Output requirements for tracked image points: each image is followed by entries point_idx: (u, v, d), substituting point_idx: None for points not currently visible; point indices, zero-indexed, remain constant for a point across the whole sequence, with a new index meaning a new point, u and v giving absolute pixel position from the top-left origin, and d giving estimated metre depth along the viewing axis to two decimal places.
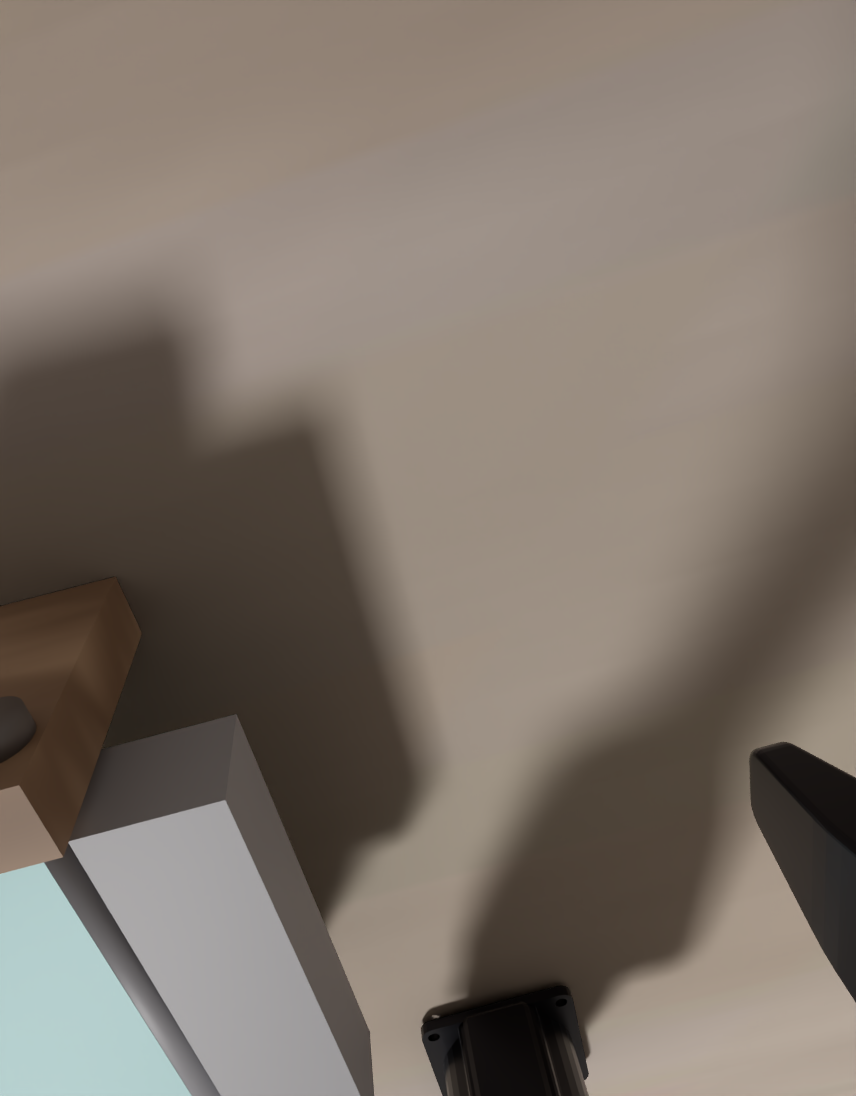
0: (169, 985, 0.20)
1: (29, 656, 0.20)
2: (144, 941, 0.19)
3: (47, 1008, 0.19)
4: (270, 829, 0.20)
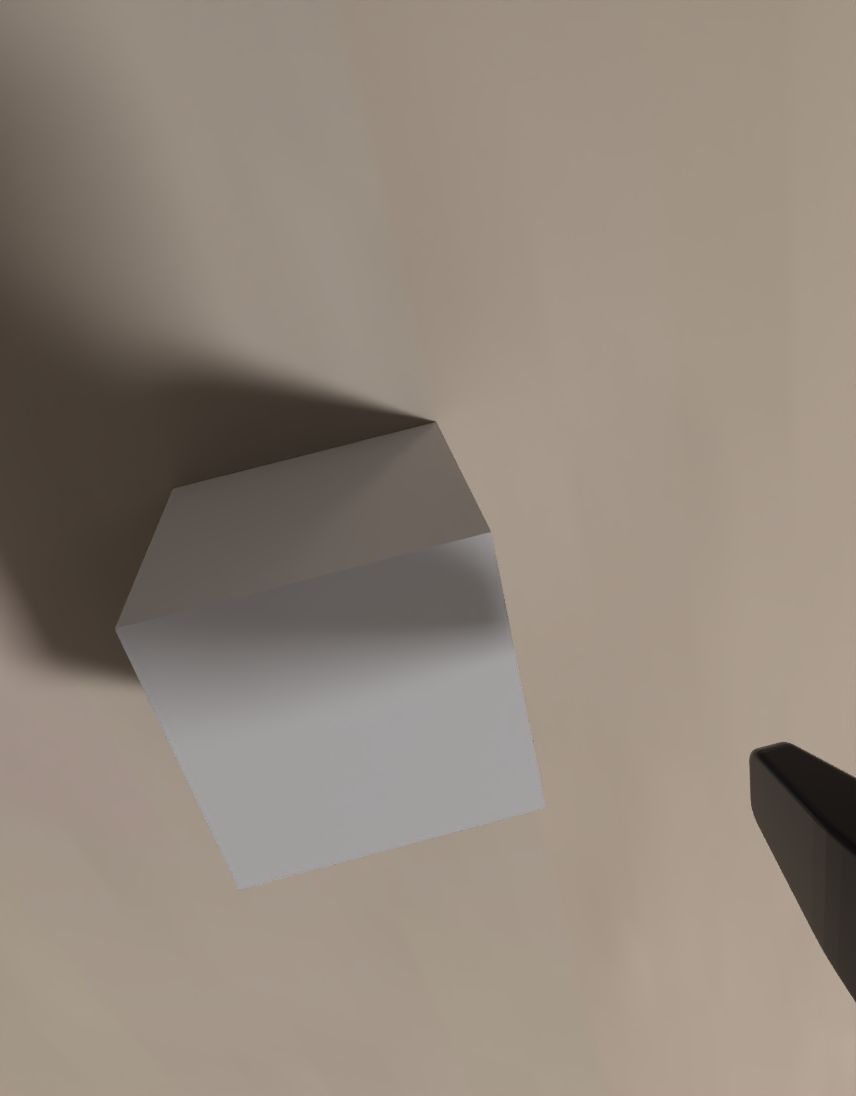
0: None
1: None
2: None
3: None
4: None
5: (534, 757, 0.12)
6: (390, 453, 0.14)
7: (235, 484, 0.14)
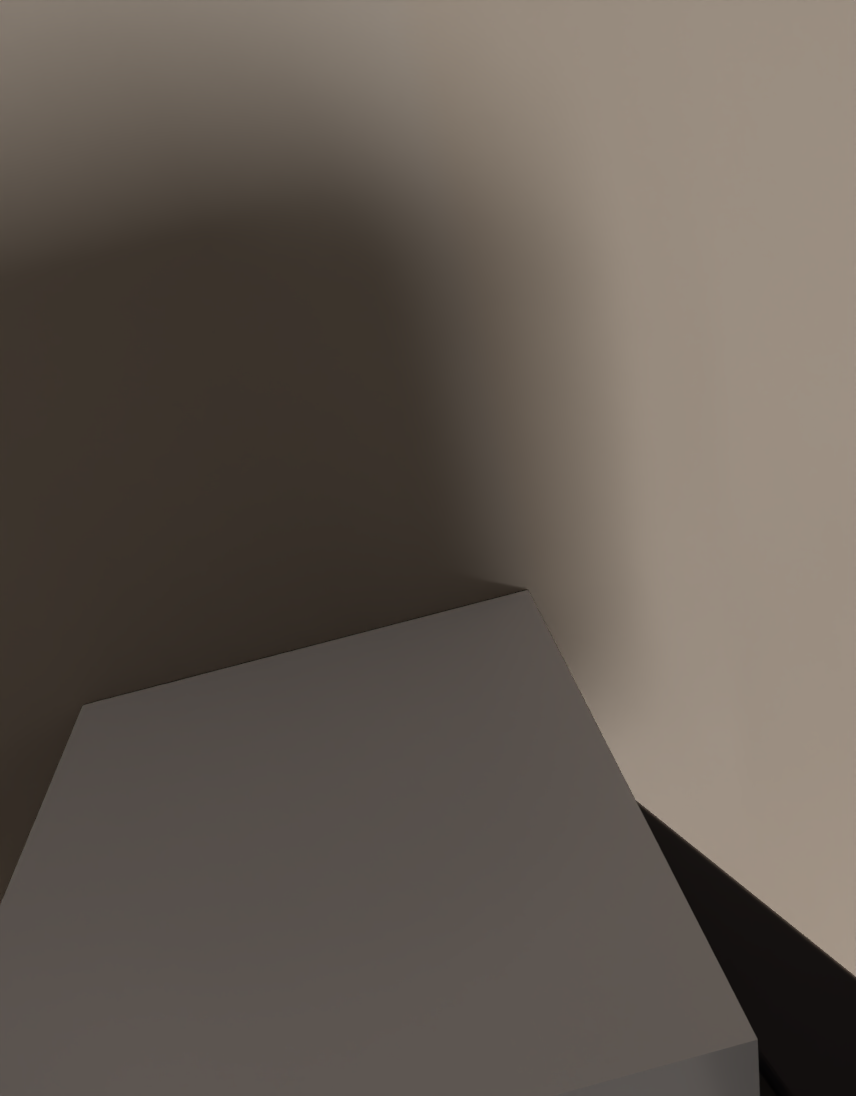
0: None
1: None
2: None
3: None
4: None
5: None
6: (459, 672, 0.08)
7: (184, 717, 0.08)
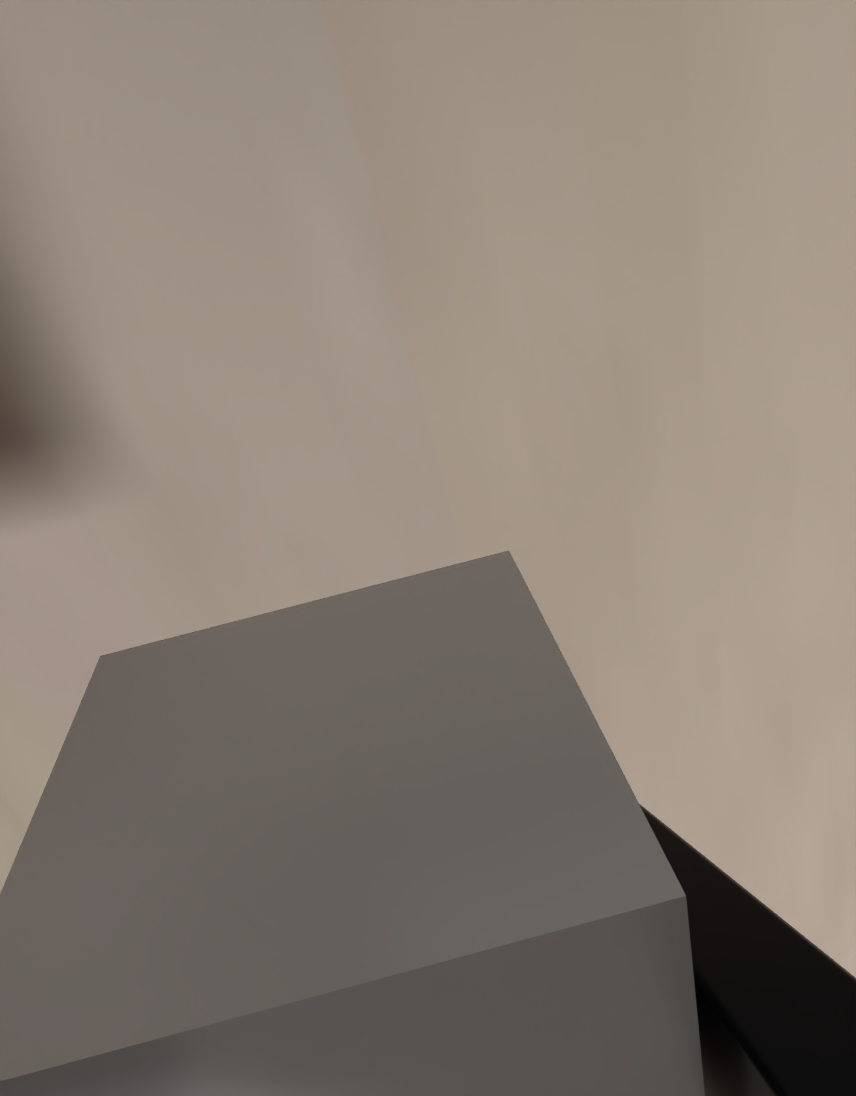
0: None
1: None
2: None
3: None
4: None
5: None
6: (444, 620, 0.08)
7: (194, 663, 0.09)
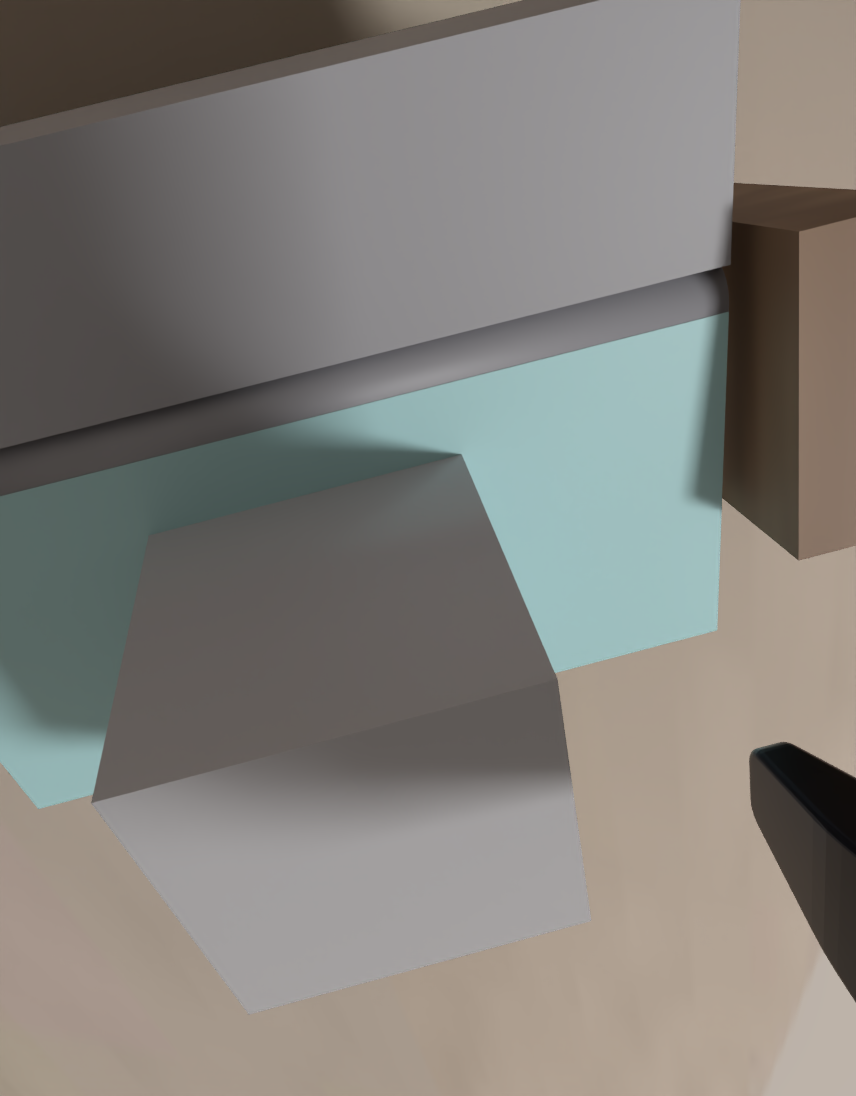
0: (148, 388, 0.11)
1: None
2: (26, 417, 0.11)
3: None
4: None
5: (583, 879, 0.11)
6: (411, 508, 0.11)
7: (224, 541, 0.12)
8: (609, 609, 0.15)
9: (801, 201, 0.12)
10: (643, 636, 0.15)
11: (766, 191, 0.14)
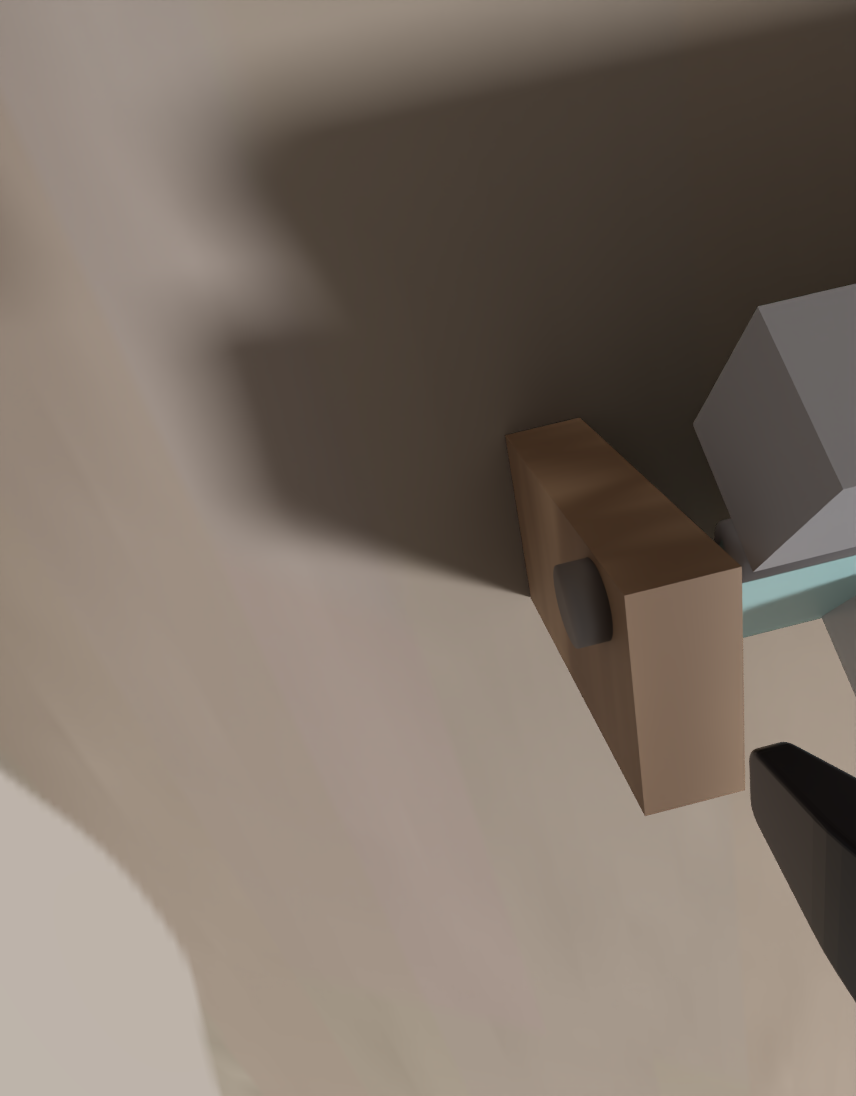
0: None
1: (549, 539, 0.18)
2: None
3: None
4: None
5: None
6: None
7: None
8: None
9: None
10: None
11: None
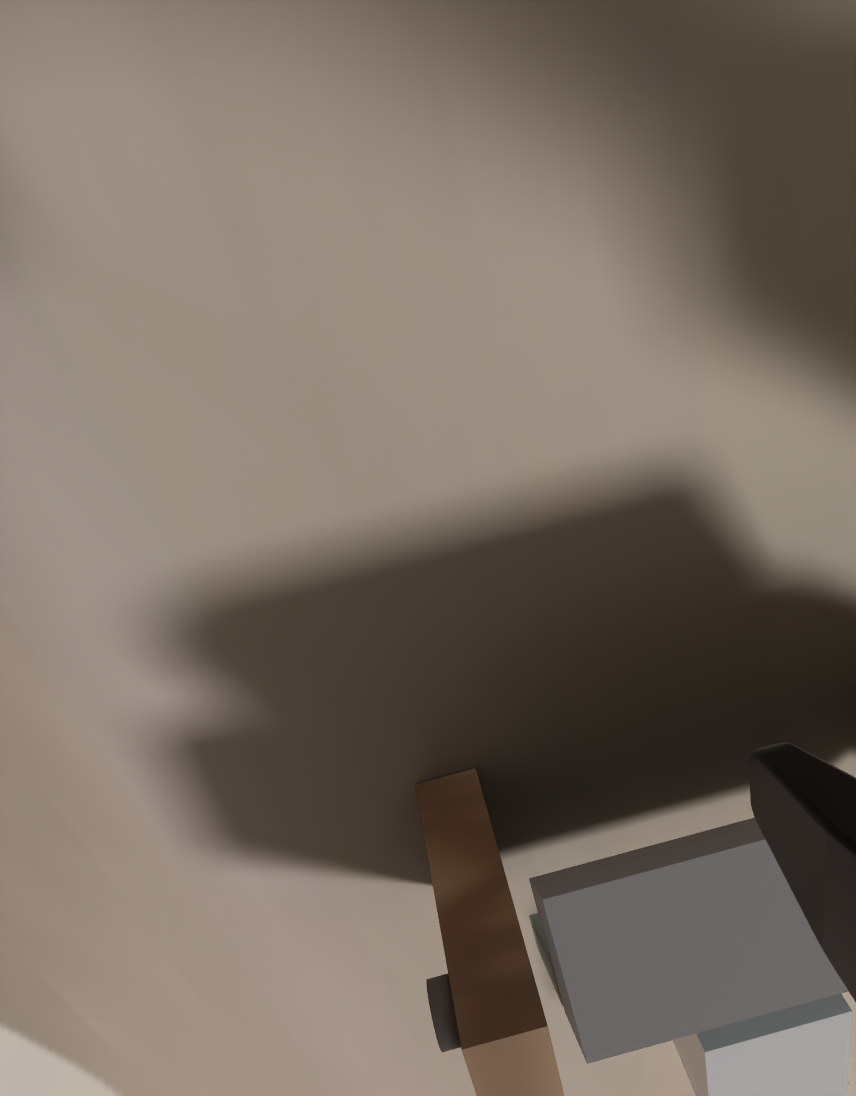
0: None
1: None
2: None
3: None
4: (700, 917, 0.16)
5: None
6: None
7: None
8: None
9: None
10: None
11: None
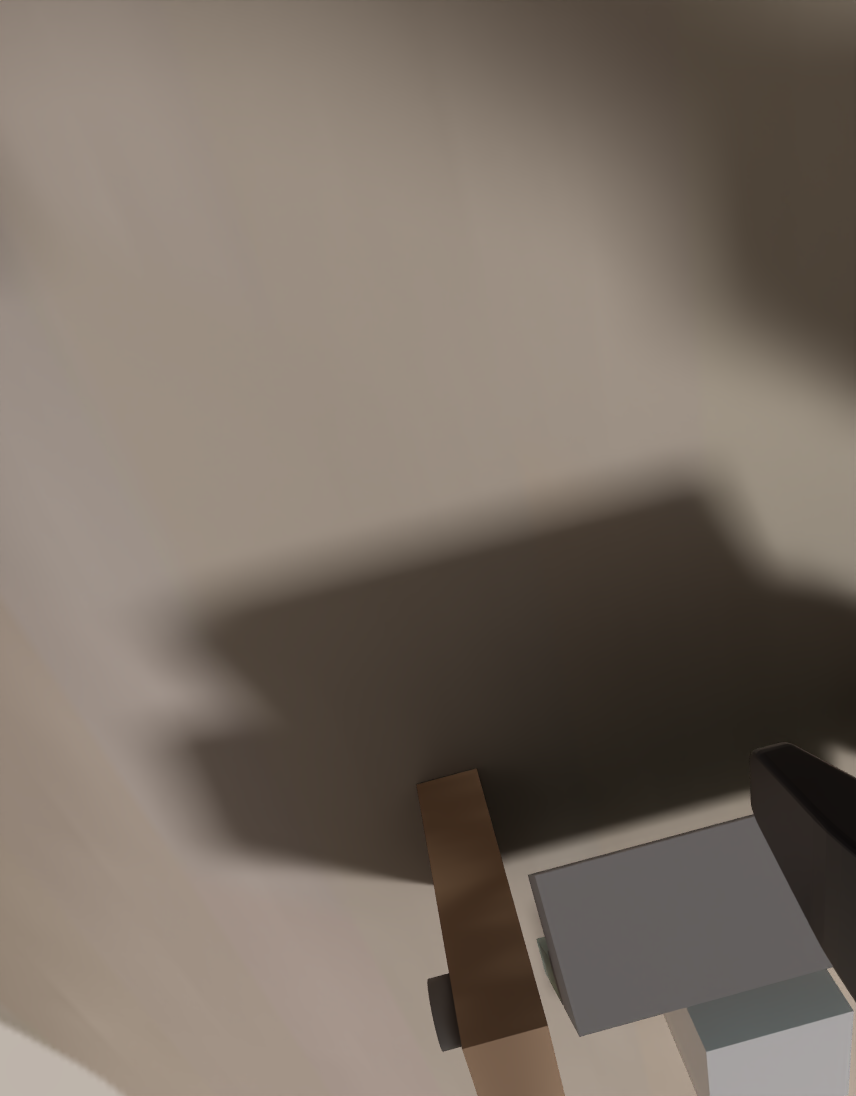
0: None
1: None
2: None
3: None
4: (689, 892, 0.16)
5: None
6: None
7: None
8: None
9: None
10: None
11: None
